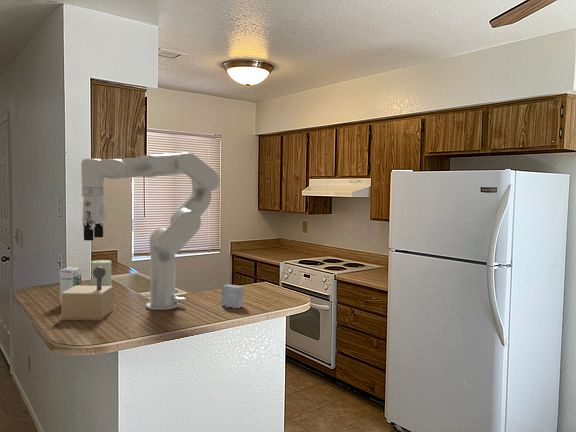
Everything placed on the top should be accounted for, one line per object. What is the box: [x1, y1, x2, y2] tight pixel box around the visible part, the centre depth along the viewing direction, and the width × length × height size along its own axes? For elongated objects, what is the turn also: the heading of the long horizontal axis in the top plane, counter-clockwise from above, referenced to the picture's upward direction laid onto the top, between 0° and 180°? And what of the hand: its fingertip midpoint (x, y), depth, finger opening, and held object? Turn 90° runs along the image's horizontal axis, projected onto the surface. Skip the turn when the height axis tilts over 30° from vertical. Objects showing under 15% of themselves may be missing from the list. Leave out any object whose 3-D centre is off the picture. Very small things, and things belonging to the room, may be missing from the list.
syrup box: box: [59, 266, 82, 304], centre depth 191 cm, size 6×6×14 cm
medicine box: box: [221, 283, 245, 309], centre depth 194 cm, size 8×4×9 cm, turn 65°
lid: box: [61, 266, 114, 295], centre depth 175 cm, size 14×13×9 cm
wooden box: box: [60, 287, 114, 321], centre depth 176 cm, size 14×13×9 cm
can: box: [90, 259, 113, 286], centre depth 228 cm, size 9×9×12 cm
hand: (93, 238), depth 176 cm, fingers open, 9 cm apart
